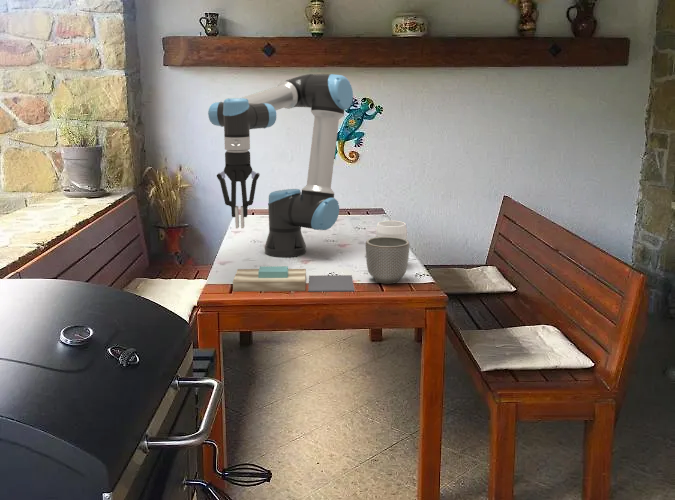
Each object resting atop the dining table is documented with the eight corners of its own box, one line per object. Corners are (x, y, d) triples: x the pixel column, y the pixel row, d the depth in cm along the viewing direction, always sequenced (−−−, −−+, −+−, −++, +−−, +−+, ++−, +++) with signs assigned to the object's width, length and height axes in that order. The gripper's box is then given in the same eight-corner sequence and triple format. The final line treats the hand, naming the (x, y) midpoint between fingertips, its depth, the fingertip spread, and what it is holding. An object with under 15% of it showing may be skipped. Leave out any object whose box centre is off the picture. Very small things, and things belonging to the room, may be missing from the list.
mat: (308, 276, 234) (308, 275, 233) (351, 276, 234) (351, 275, 234) (308, 291, 218) (308, 290, 218) (354, 291, 218) (354, 290, 218)
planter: (373, 272, 238) (374, 234, 235) (413, 277, 233) (415, 238, 230) (358, 284, 226) (359, 244, 223) (400, 289, 221) (401, 248, 217)
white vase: (404, 271, 240) (406, 227, 236) (373, 269, 242) (374, 226, 238) (407, 262, 250) (408, 220, 246) (377, 261, 252) (377, 219, 248)
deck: (237, 278, 232) (237, 269, 231) (305, 277, 233) (305, 268, 232) (233, 291, 218) (232, 281, 218) (305, 290, 219) (305, 281, 218)
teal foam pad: (258, 278, 222) (258, 271, 221) (259, 272, 228) (259, 266, 227) (287, 277, 222) (287, 271, 221) (288, 272, 228) (288, 266, 227)
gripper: (212, 152, 211) (215, 230, 217) (259, 152, 211) (261, 230, 217) (215, 149, 218) (218, 224, 224) (261, 149, 219) (263, 224, 224)
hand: (240, 227), depth 221 cm, fingers closed
